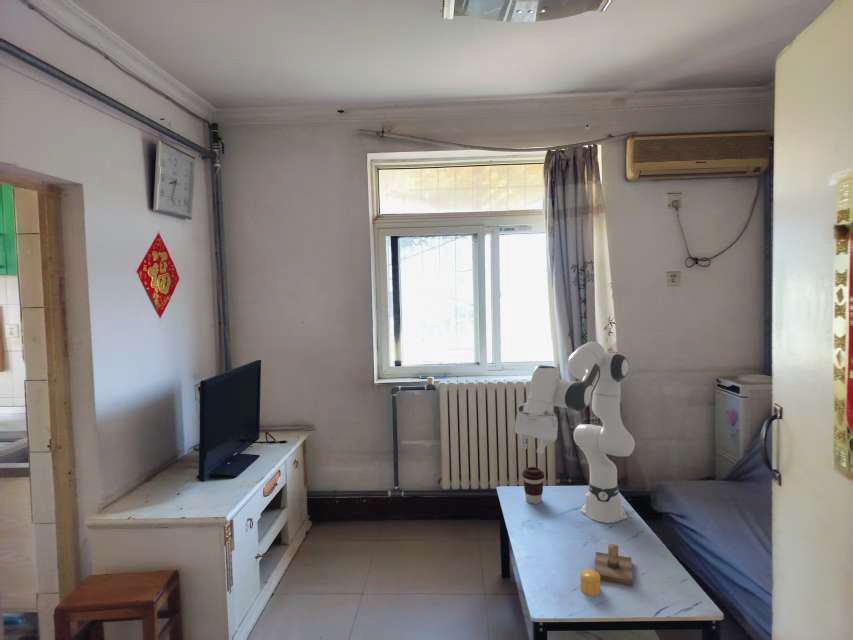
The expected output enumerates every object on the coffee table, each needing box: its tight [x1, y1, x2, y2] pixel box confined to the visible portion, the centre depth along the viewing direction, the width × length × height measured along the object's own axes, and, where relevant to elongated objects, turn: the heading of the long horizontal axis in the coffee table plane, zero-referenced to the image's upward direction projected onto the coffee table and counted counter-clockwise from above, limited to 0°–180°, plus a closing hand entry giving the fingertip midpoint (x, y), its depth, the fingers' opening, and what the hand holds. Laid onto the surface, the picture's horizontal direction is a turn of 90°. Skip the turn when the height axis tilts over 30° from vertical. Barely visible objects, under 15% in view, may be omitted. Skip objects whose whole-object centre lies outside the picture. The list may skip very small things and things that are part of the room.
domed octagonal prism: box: [580, 568, 601, 597], centre depth 158 cm, size 6×6×5 cm
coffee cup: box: [522, 466, 545, 505], centre depth 222 cm, size 10×10×15 cm
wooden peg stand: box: [594, 543, 634, 587], centre depth 167 cm, size 14×12×9 cm
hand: (531, 450), depth 162 cm, fingers open, 8 cm apart
